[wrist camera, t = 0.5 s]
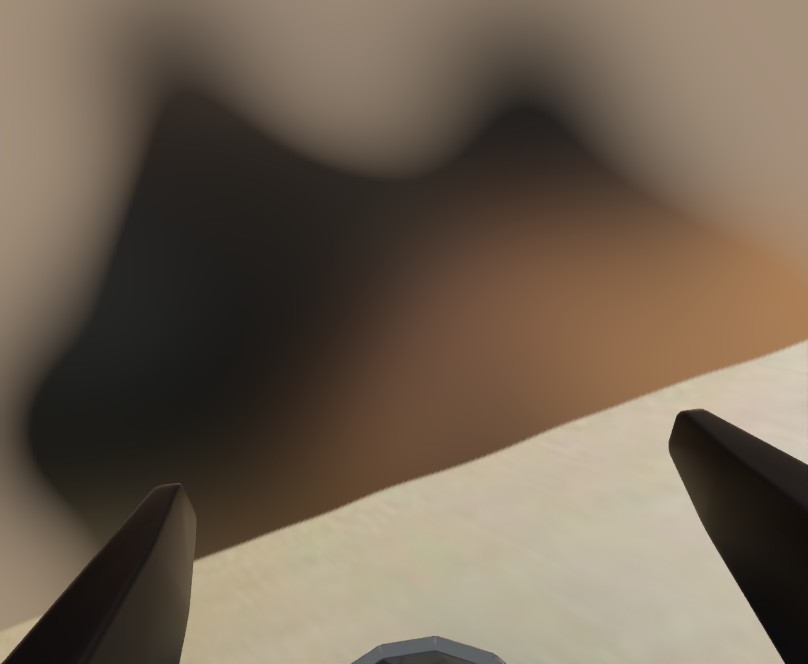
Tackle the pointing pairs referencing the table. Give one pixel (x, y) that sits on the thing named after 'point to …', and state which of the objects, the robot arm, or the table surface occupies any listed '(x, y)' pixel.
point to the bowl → (428, 653)
